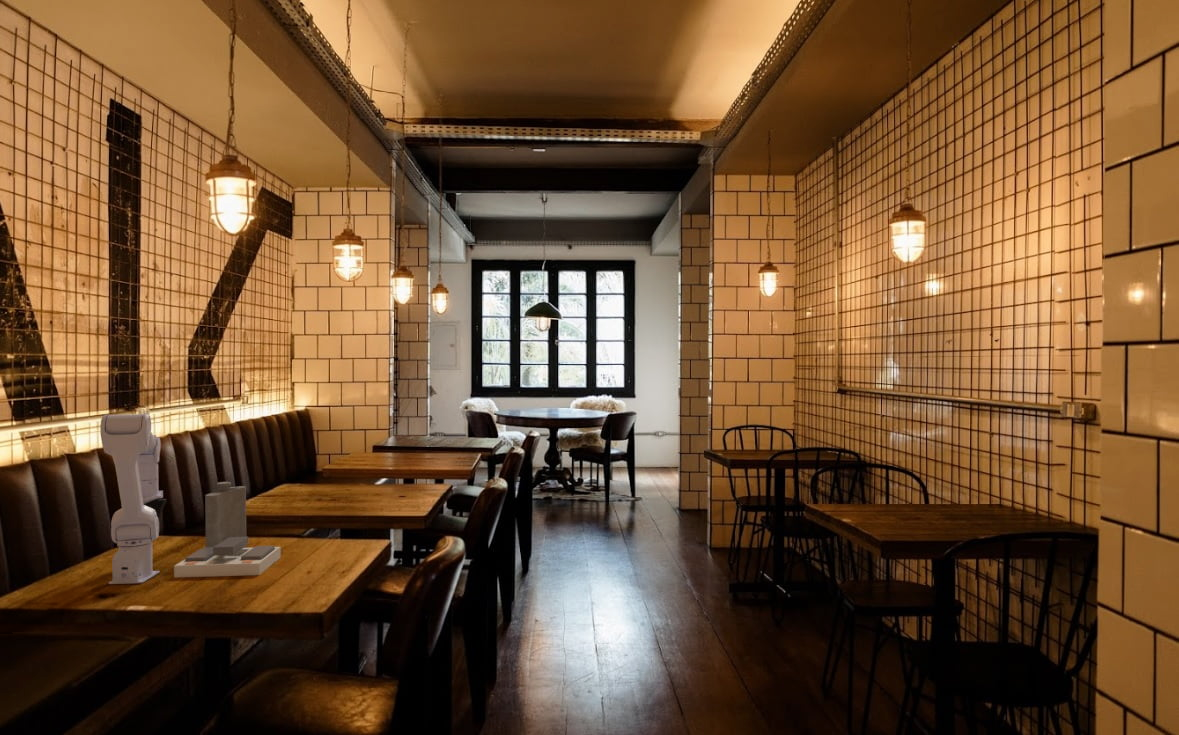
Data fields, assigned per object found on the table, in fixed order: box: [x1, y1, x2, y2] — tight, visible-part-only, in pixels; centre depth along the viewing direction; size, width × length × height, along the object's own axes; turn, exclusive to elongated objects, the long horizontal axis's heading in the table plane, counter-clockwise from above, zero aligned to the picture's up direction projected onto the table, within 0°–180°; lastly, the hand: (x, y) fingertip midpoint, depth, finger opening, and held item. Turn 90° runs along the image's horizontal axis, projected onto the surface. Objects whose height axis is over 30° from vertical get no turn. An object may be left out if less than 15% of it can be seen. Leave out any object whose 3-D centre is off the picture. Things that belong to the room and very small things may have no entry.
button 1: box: [184, 546, 213, 562], centre depth 200 cm, size 11×5×2 cm, turn 5°
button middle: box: [213, 536, 249, 556], centre depth 201 cm, size 11×5×2 cm, turn 5°
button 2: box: [241, 545, 275, 560], centre depth 202 cm, size 11×5×2 cm, turn 5°
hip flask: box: [204, 481, 247, 547], centre depth 217 cm, size 16×4×20 cm, turn 170°
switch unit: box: [173, 546, 282, 578], centre depth 200 cm, size 17×21×3 cm
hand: (146, 529), depth 204 cm, fingers open, 7 cm apart
